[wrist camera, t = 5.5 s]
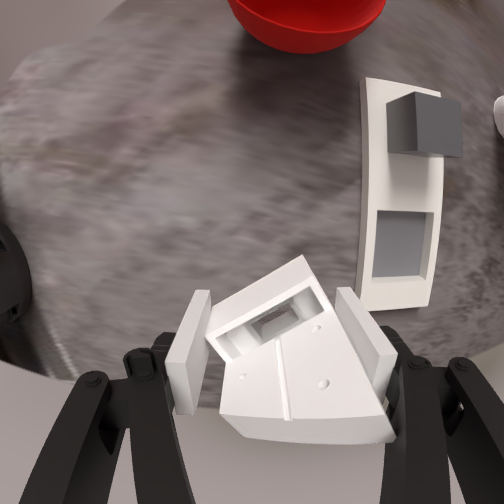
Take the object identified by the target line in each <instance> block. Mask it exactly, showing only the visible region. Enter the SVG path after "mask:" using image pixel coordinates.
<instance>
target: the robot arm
mask: <svg viewBox="0 0 504 504" xmlns="http://www.w3.org/2000/svg"><path fill="white" fill-rule="evenodd" d="M30 299H31V279H30V273H29V268H28V265H27V261H26V258H25V256H24V253H23V251H22V248H21V246H20V244H19V243H18V241H17V239H16V238H15V236H14V235H13V233H12V232H11V231H10V230H9V229H8V228H7V227H6V226H5V225H4V224H3V223H1V222H0V325H4V324H9V323H11V322H14V321H15V320H16V319H18V318H19V317H20V316H22V315H23V314H24V313H25V312H26V310H27V308H28V306H29V303H30ZM335 312H336V314H337V316H338V318H339V320H340V322H341V324H342V326H343V328H344V330H345V332H346V333H347V335H348V337H349V339H350V341H351V343H352V345H353V347H354V349H355V351H356V353H357V355H358V357H359V359H360V361H361V363H362V365H363V367H364V369H365V371H366V373H367V375H368V377H369V379H370V381H371V383H372V385H373V387H374V389H375V392H376V394H377V396H378V398H379V400H380V402H381V404H382V405H383V402H384V399H385V396H386V397H387V399H388V401H389V405H388V407H387V410H386V415H387V417H388V419H389V421H390V423H391V425H392V428H393V430H394V432H395V435H396V438H395V440H394V441H393V442H392V443H385V456H384V468H383V479H382V488H381V496H380V504H451V493H450V476H449V464H448V457H449V459H450V462H451V464H452V467H453V469H454V472H455V475H456V477H457V480H458V483H459V485H460V488H461V491H462V494H463V497H464V500H465V503H466V504H504V404H503V402H502V401H501V400H500V398H499V397H498V395H497V394H496V392H495V391H494V390H493V388H492V387H491V385H490V384H489V383H488V381H487V380H486V378H485V377H484V376H483V375H482V373H481V372H480V370H479V369H478V368H477V366H476V365H475V364H474V363H473V362H472V361H471V360H469V359H467V358H464V357H455V358H452V359H451V360H450V361H449V364H448V367H432V365H431V363H430V361H428V360H427V359H426V358H423V357H421V356H414V355H413V353H412V352H411V351H410V349H409V348H408V347H407V345H406V344H405V343H404V342H403V340H402V339H401V337H400V336H399V335H398V334H397V332H396V331H395V330H394V329H392V328H390V327H389V326H378V324H377V323H376V322H375V320H374V319H373V317H372V316H371V315H370V313H369V312H368V311H367V309H366V308H365V307H364V305H363V304H362V302H361V301H360V300H359V298H358V297H357V296H356V294H355V293H354V292H353V290H352V289H351V288H350V287H337V292H336V302H335ZM210 314H211V299H210V290H196V291H195V293H194V295H193V297H192V300H191V302H190V304H189V306H188V309H187V311H186V313H185V315H184V318H183V320H182V322H181V325H180V327H179V329H178V331H177V333H171V332H163V333H162V334H161V335H159V336H158V337H157V338H156V340H155V342H154V344H153V346H152V347H151V349H149V348H137V349H133V350H131V351H129V352H128V353H127V354H126V355H124V358H123V362H124V365H125V369H126V372H127V376H128V378H126V379H119V380H109V378H108V376H107V374H105V373H104V372H101V371H90V372H86V373H84V374H83V375H81V376H80V377H79V379H78V380H77V382H76V384H75V385H74V387H73V389H72V391H71V393H70V394H69V396H68V398H67V400H66V402H65V404H64V406H63V408H62V410H61V412H60V413H59V415H58V418H57V419H56V421H55V423H54V425H53V427H52V430H51V431H50V433H49V435H48V438H47V440H46V442H45V444H44V446H43V448H42V450H41V452H40V455H39V457H38V459H37V461H36V464H35V466H34V468H33V470H32V472H31V475H30V477H29V479H28V482H27V484H26V487H25V489H24V492H23V494H22V497H21V499H20V502H19V504H107V502H108V497H109V493H110V489H111V484H112V480H113V476H114V472H115V468H116V464H117V460H118V456H119V452H120V448H121V444H122V440H123V437H124V433H125V430H126V428H130V439H131V440H130V441H131V451H132V452H131V453H132V463H133V472H134V481H135V488H136V495H137V502H138V504H196V503H195V500H194V496H193V493H192V490H191V486H190V483H189V479H188V476H187V472H186V469H185V465H184V461H183V457H182V453H181V450H180V446H179V441H178V437H177V433H176V428H175V424H174V419H173V416H172V411H173V408H174V406H175V411H176V414H178V415H190V416H195V413H196V409H197V404H198V400H199V395H200V390H201V386H202V381H203V377H204V372H205V368H206V363H207V359H208V355H209V350H210V346H211V344H210V343H209V341H208V340H207V339H206V338H205V332H206V329H207V325H208V321H209V318H210ZM461 403H462V405H463V407H464V409H463V410H462V408H461V407H460V405H461ZM447 454H448V455H447Z"/></svg>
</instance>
